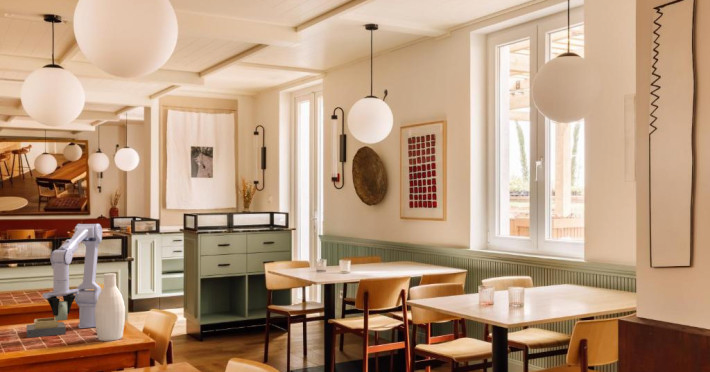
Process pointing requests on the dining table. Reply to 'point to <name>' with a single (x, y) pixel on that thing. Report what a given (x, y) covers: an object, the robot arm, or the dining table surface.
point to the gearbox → (45, 327)
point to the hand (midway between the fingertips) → (61, 314)
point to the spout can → (62, 311)
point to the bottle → (110, 311)
